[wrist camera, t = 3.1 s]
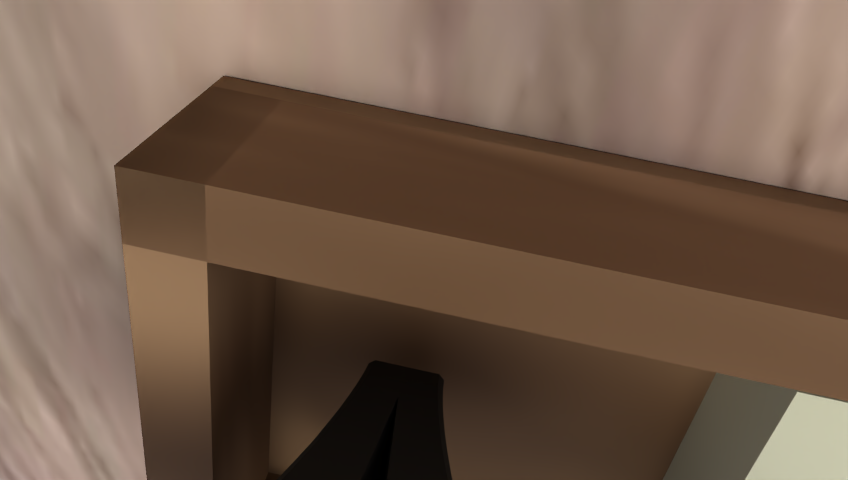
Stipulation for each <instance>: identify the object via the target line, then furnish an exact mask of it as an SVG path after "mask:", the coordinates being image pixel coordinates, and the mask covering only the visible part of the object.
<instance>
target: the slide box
mask: <svg viewBox="0 0 848 480" xmlns="http://www.w3.org/2000/svg"><path fill="white" fill-rule="evenodd" d="M114 168H115V178H116V187H117V197H118V206H119V216H120V226H121V235H122V245H123V254H124V264H125V274H126V283H127V293H128V302H129V312H130V321H131V331H132V341H133V350H134V360H135V369H136V379H137V388H138V398H139V408H140V417H141V427H142V436H143V446H144V455H145V465H146V475H147V480H277V479H278V478H279V477H280V476H281V475H282V474H283V473H284V471H285V470H286V469H287V468H288V467H289V466H290V465H291V464H292V463H293V462H294V461H295V460H296V459H297V458H298V456H299V455H300V454H301V453H302V452H303V451H304V450H305V449H306V448H307V447H308V446H309V445H310V443H311V442H312V441H313V440H314V439H315V438H316V437H317V435H318V434H319V433H320V432H321V430H322V429H323V428H324V427H325V426H326V424H327V423H328V422H329V421H330V419H331V418H332V417H333V416H334V414H335V413H336V412H337V411H338V409H339V408H340V407H341V405H342V404H343V403H344V401H345V400H346V399H347V397H348V396H349V395H350V393H351V392H352V390H353V389H354V387H355V386H356V384H357V383H358V381H359V380H360V378H361V376H362V375H363V373H364V371H365V369H366V368H367V366H368V364H369V363H370V362H372V361H374V360H378V361H382V362H387V363H391V364H396V365H400V366H405V367H409V368H414V369H418V370H423V371H427V372H432V373H436V374H440V376H441V377H442V378H443V379H444V385H443V418H444V429H445V438H446V445H447V452H448V458H449V464H450V469H451V475H452V480H663V478H664V476H665V474H666V472H667V470H668V468H669V466H670V464H671V462H672V460H673V458H674V456H675V454H676V452H677V450H678V448H679V446H680V444H681V442H682V440H683V438H684V436H685V434H686V432H687V430H688V428H689V426H690V424H691V422H692V420H693V418H694V416H695V414H696V412H697V410H698V408H699V406H700V405H701V403H702V401H703V399H704V397H705V395H706V393H707V391H708V389H709V387H710V385H711V383H712V381H713V379H714V377H715V375H716V373H720V374H725V375H729V376H734V377H738V378H743V379H748V380H752V381H757V382H761V383H766V384H771V385H775V386H780V387H784V388H789V389H794V390H798V391H803V392H807V393H812V394H817V395H821V396H826V397H830V398H835V399H840V400H844V401H848V201H844V200H839V199H834V198H829V197H824V196H819V195H814V194H809V193H804V192H799V191H794V190H789V189H784V188H779V187H774V186H769V185H764V184H759V183H754V182H749V181H744V180H739V179H734V178H729V177H724V176H719V175H714V174H709V173H704V172H699V171H694V170H689V169H684V168H679V167H674V166H669V165H664V164H660V163H655V162H650V161H645V160H640V159H635V158H630V157H625V156H620V155H615V154H610V153H605V152H600V151H595V150H590V149H585V148H580V147H575V146H570V145H565V144H560V143H555V142H550V141H545V140H540V139H535V138H530V137H525V136H520V135H515V134H510V133H505V132H500V131H495V130H490V129H485V128H480V127H476V126H471V125H466V124H461V123H456V122H451V121H446V120H441V119H436V118H431V117H426V116H421V115H416V114H411V113H406V112H401V111H396V110H391V109H386V108H381V107H376V106H371V105H366V104H361V103H356V102H351V101H346V100H341V99H336V98H331V97H326V96H321V95H316V94H311V93H306V92H301V91H296V90H292V89H287V88H282V87H277V86H272V85H267V84H262V83H257V82H252V81H247V80H242V79H237V78H232V77H227V76H223V77H222V78H220V79H219V80H218V81H217V82H215V83H214V84H213V85H212V86H211V87H209V88H208V89H207V90H206V91H204V92H203V93H202V94H201V95H200V96H198V97H197V98H196V99H195V100H194V101H192V102H191V103H190V104H189V105H187V106H186V107H185V108H184V109H183V110H181V111H180V112H179V113H178V114H176V115H175V116H174V117H173V118H172V119H170V120H169V121H168V122H167V123H166V124H164V125H163V126H162V127H161V128H159V129H158V130H157V131H156V132H155V133H153V134H152V135H151V136H150V137H148V138H147V139H146V140H145V141H144V142H142V143H141V144H140V145H139V146H137V147H136V148H135V149H134V150H133V151H131V152H130V153H129V154H128V155H127V156H125V157H124V158H123V159H122V160H120V161H119V162H118V163H117V164H116V165H114Z"/></svg>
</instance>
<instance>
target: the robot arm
mask: <svg viewBox="0 0 848 480" xmlns="http://www.w3.org/2000/svg"><path fill="white" fill-rule="evenodd" d="M443 385H444V379H443V378H442V377H441V376H440V374H436V373H432V372H427V371H423V370H418V369H414V368H409V367H405V366H400V365H396V364H391V363H387V362H382V361H378V360H374V361H372V362H370V363H369V364H368V366H367V368H366V369H365V371H364V373H363V375H362V376H361V378H360V380H359V381H358V383H357V384H356V386H355V387H354V389H353V390H352V392H351V393H350V395H349V396H348V397H347V399H346V400H345V401H344V403H343V404H342V405H341V407H340V408H339V409H338V411H337V412H336V413H335V414H334V416H333V417H332V418H331V419H330V421H329V422H328V423H327V424H326V426H325V427H324V428H323V429H322V430H321V432H320V433H319V434H318V435H317V437H316V438H315V439H314V440H313V441H312V442H311V443H310V445H309V446H308V447H307V448H306V449H305V450H304V451H303V452H302V453H301V454H300V455H299V456H298V458H297V459H296V460H295V461H294V462H293V463H292V464H291V465H290V466H289V467H288V468H287V469H286V470H285V471H284V473H283V474H282V475H281V476H280V477H279V478H278V479H277V480H452V475H451V469H450V464H449V458H448V452H447V445H446V438H445V429H444V418H443Z"/></svg>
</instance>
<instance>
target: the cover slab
mask: <svg viewBox="0 0 848 480" xmlns="http://www.w3.org/2000/svg"><path fill="white" fill-rule="evenodd" d="M663 480H848V401H844V400H840V399H835V398H830V397H826V396H821V395H817V394H812V393H807V392H803V391H798V390H794V389H789V388H784V387H780V386H775V385H771V384H766V383H761V382H757V381H752V380H748V379H743V378H738V377H734V376H729V375H725V374H720V373H716V375H715V377H714V379H713V381H712V383H711V385H710V387H709V389H708V391H707V393H706V395H705V397H704V399H703V401H702V403H701V405H700V406H699V408H698V410H697V412H696V414H695V416H694V418H693V420H692V422H691V424H690V426H689V428H688V430H687V432H686V434H685V436H684V438H683V440H682V442H681V444H680V446H679V448H678V450H677V452H676V454H675V456H674V458H673V460H672V462H671V464H670V466H669V468H668V470H667V472H666V474H665V476H664V478H663Z"/></svg>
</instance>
